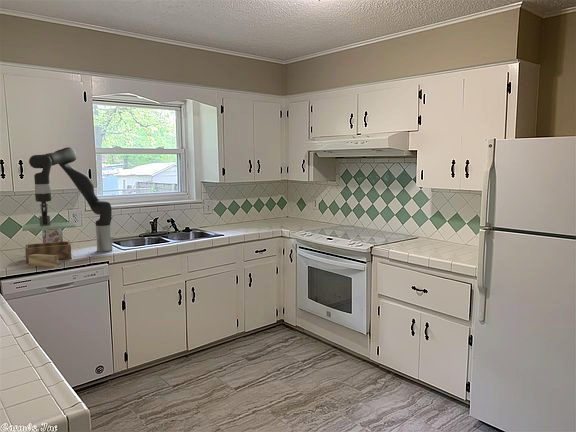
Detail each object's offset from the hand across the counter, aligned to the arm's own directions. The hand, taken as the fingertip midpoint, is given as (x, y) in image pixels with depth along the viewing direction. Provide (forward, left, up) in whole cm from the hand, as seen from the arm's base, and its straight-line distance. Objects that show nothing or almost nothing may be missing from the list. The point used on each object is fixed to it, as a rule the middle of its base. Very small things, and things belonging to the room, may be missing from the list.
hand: (45, 223), depth 245 cm
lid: (-2, 0, -2) cm, 3 cm away
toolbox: (-1, -31, -26) cm, 40 cm away
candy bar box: (-4, -56, -26) cm, 62 cm away
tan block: (+2, -15, -26) cm, 30 cm away
